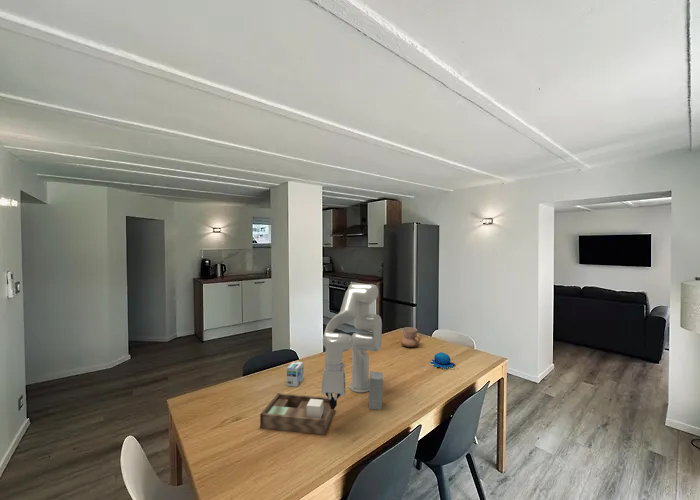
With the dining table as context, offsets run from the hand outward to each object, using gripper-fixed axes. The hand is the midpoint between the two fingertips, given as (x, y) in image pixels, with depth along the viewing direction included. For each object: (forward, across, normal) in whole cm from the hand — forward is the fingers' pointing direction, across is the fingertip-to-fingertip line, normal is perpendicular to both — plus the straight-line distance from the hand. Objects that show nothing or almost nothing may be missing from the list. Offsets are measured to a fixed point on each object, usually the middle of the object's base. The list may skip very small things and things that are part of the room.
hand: (333, 407), depth 130 cm
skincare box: (+8, -18, -22) cm, 29 cm away
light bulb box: (+8, +31, -40) cm, 51 cm away
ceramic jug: (+6, -40, -120) cm, 126 cm away
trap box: (+9, +16, -5) cm, 19 cm away
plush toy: (+7, -59, -83) cm, 102 cm away
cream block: (+5, +8, -1) cm, 10 cm away
